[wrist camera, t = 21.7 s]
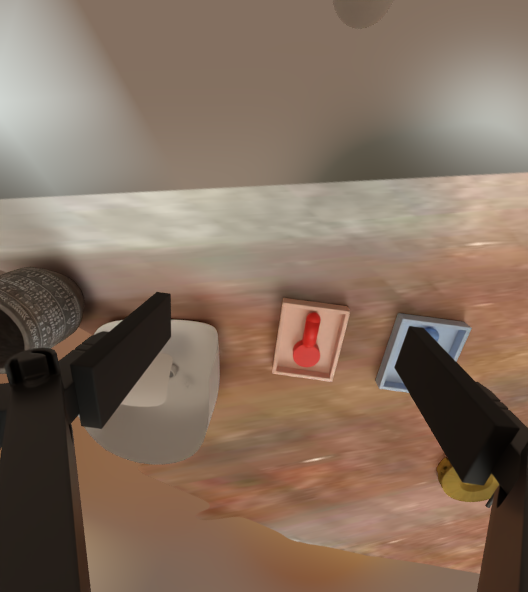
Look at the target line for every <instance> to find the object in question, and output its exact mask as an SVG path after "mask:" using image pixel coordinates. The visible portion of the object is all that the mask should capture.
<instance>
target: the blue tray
mask: <svg viewBox="0 0 528 592" xmlns="http://www.w3.org/2000/svg"><path fill="white" fill-rule="evenodd" d="M409 326H414V327H422V328H424V329H427V328H433V329H435V330H437V331H438V333H439V339H438V341H437V342H438V343H439V344H440V346H441V347H442V348H443V349H444V350H445V351H446V352H447V353H448V354H449V355H450V356H451V357H452V358H453V359H454V360H455V361H457V359H458V357H459V355H460V353H461V350H462V348H463V346H464V344H465V342H466V339H467V337H468V335H469V333H470V331H471V329H472V328H471V327H470V326H469V325H467V324H466V323H465V322H462V321H454V320H447V319H439V318H432V317H424V316H417V315H409V314H402V313H398V314H397V317H396V320H395V323H394V326H393V329H392V332H391V335H390V338H389V341H388V344H387V347H386V350H385V353H384V356H383V359H382V362H381V365H380V368H379V371H378V374H377V377H376V383H377V385H378V387H379V389H386V390H393V391H401V392H408V390H407V388H406V387H405V385H404V383H403V382H402V380H401V378H400V377H399V375H398V373H397V371H396V370H395V368H394V367H395V364H396V361H397V358H398V356H399V353H400V350H401V347H402V344H403V342H404V339H405V336H406V333H407V330H408V328H409ZM408 393H409V392H408Z"/></svg>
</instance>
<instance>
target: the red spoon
mask: <svg viewBox="0 0 528 592" xmlns="http://www.w3.org/2000/svg"><path fill="white" fill-rule="evenodd" d="M320 322H321V318H320V315H319V314H318V313H315V312H312V313H309V314H308V315H307V318H306V323H305V328H304V333H303V338H302V340H301V341H299V342H297V343H296V344H295V345H294V347H293V359H294V361H295V363H296V364H298V365H299V366H301V367H312V366H314V365H316V364H317V363H318V361H319V359H320V351H319V347H318V345H317V344H316V340H317V335H318V331H319V326H320Z"/></svg>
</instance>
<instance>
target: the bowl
mask: <svg viewBox="0 0 528 592" xmlns="http://www.w3.org/2000/svg"><path fill="white" fill-rule="evenodd" d="M121 321H123V320H120V321H114V322H110V323H107V324H104V325H102V326H101V327H99V328H98V329H97V331H96V332H95V333H94V335H95V334H97V333H99V332H102V331H106V332H109V331H111V330H112V329H113V328H114V327H115V326H117V325H118V324H119V323H120V322H121ZM219 380H220V360H219V344H218V334H217V331H216V329H215V328H214V327H213V326H211V325H209V324H205V323H201V322H195V321H187V320H174V319H171V338H170V339H169V341H168V342H167V343H166V344H165V346H164V347H163V348H162V350H161V351H160V352H159V354H158V355H157V356H156V358H155V359H154V360H153V362H152V363H151V364H150V366H149V367H148V368H147V370H146V371H145V372H144V374H143V375H142V376H141V378H140V379H139V380H138V382H137V383H136V384H135V386H134V387H133V388H132V390H131V391H130V392H129V394H128V395H127V396H126V398H125V399H124V400H123V402H122V403H121V404H120V406H119V407H118V408H117V410H116V411H115V412H114V414H113V415H112V416H111V417H110V419H109V420H108V421H107V423H106V424H105V425H104V427H103V428H102V429H97V428H91V427H85V429H86V430H87V431H88V433H89V434H90V435H91V436H92V438H93V439H94V440H95V441H96V442H97V443H98V444H100V445H101V446H102V447H103V448H104V449H106V450H107V451H109V452H111V453H113V454H115V455H117V456H119V457H122V458H124V459H127V460H131V461H135V462H139V463H145V464H170V463H176V462H179V461H183V460H185V459H187V458H189V457H191V456H192V455H193V454H194V453H195V452H196V451H197V450H198V449H199V448H200V446H201V444H202V443H203V441H204V438H205V435H206V432H207V428H208V425H209V422H210V419H211V416H212V413H213V410H214V406H215V403H216V400H217V395H218V389H219ZM78 416H79V415H78ZM79 418H80V416H79Z"/></svg>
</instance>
